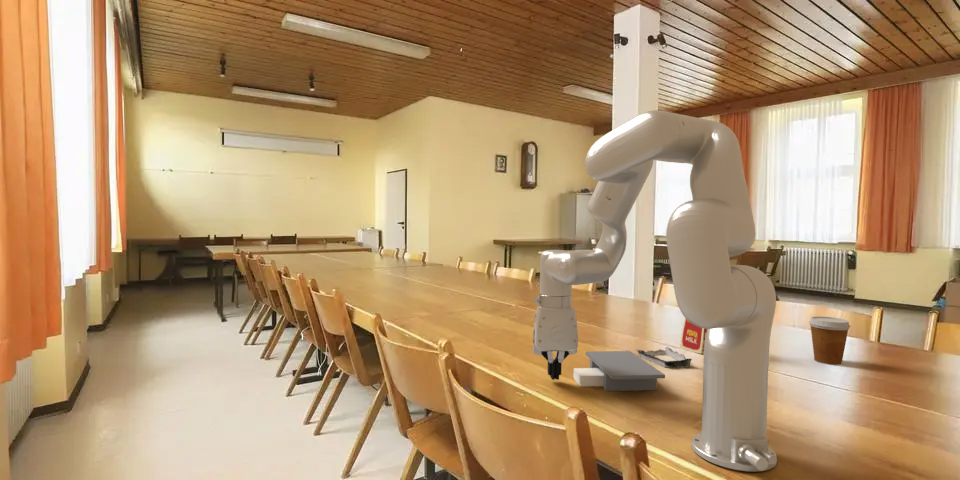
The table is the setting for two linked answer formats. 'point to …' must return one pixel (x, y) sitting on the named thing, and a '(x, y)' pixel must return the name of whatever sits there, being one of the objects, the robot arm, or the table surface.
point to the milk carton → (693, 338)
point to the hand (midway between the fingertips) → (554, 377)
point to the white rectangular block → (589, 376)
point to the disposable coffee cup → (829, 339)
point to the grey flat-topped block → (624, 370)
